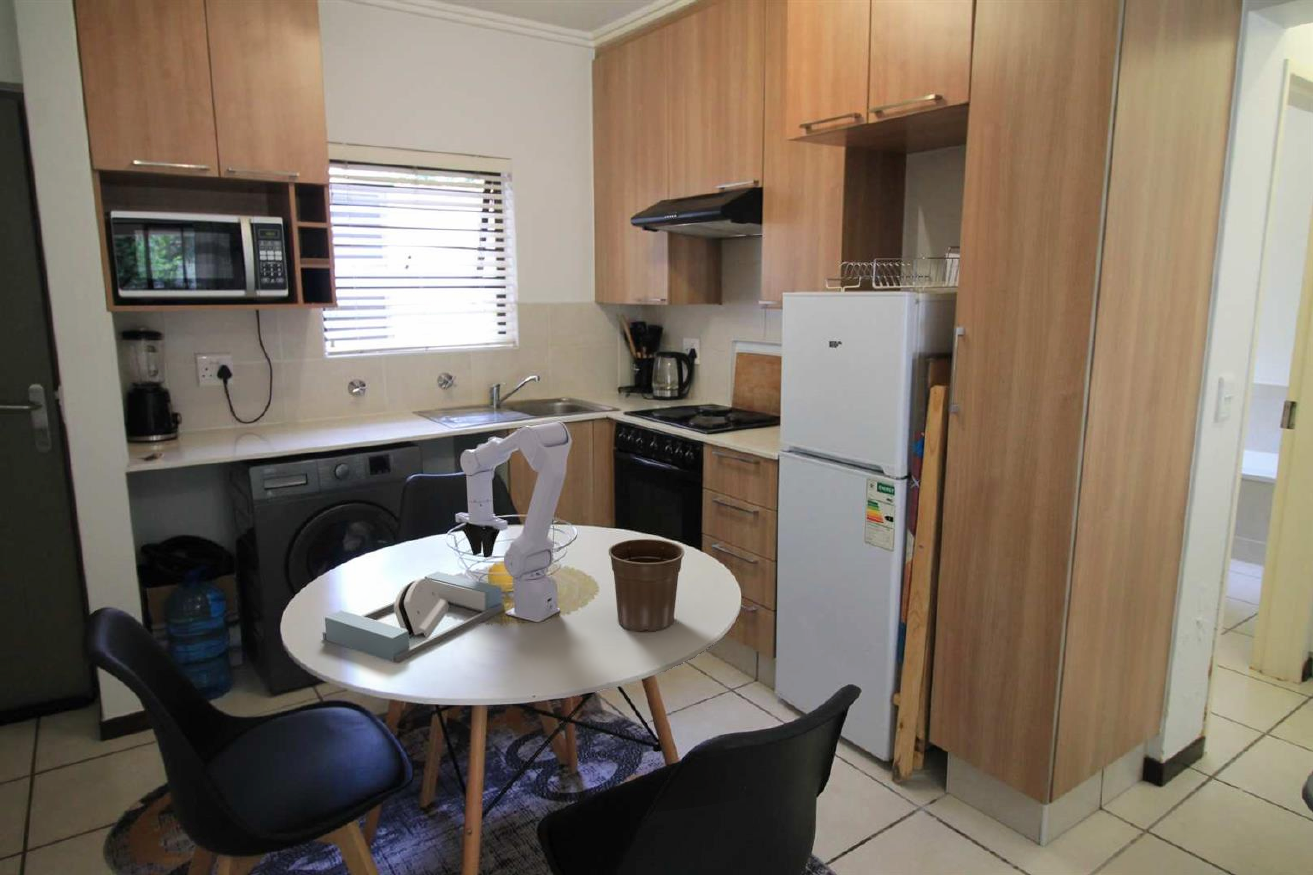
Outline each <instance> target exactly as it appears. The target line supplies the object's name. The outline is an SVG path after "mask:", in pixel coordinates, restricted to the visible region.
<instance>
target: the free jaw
mask: <svg viewBox="0 0 1313 875" xmlns="http://www.w3.org/2000/svg"><path fill="white" fill-rule="evenodd" d="M424 578H430V579H431V580H432V582H433V584H434V586H435V588H436V590H437V592H438V594H439V596H440V598H441V599H444V600H446V601H447V602H448V604H450V605H455V606H458V607H463V608H466V609H468V610H469V609H470V610H473V611H477V612H481V613H482V612H484V611H486V610H488V609H490V608H492V607H494V606H496V605H498V604H501V603H503V600H502V598H503V597H502V595H503V593H502V586H499V585H495V584H491V583H488V582H487V583H486V582H482V581H479V580H473V579H469V578H465V577H461V576H458V575H453V574H448V573H445V572H442V571H441V572H440V571H435V572H433V573H430V574H427V575H425V576H424Z"/></svg>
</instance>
